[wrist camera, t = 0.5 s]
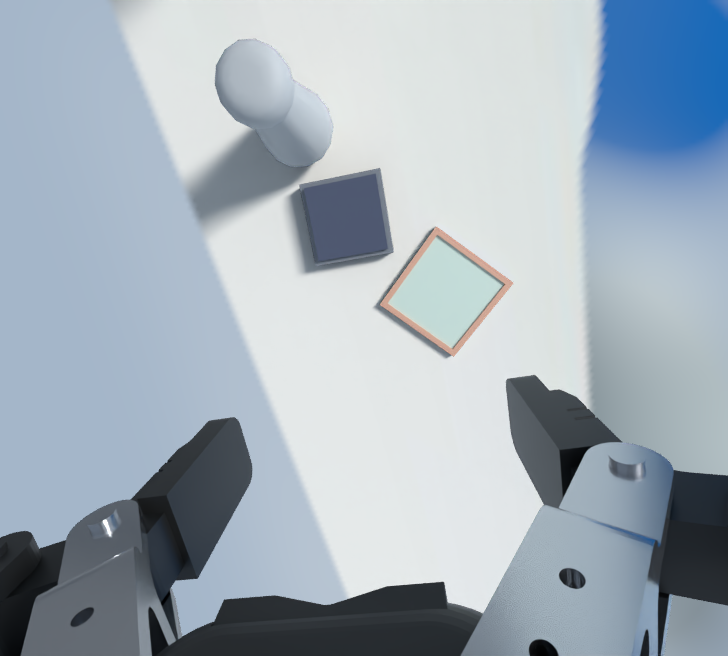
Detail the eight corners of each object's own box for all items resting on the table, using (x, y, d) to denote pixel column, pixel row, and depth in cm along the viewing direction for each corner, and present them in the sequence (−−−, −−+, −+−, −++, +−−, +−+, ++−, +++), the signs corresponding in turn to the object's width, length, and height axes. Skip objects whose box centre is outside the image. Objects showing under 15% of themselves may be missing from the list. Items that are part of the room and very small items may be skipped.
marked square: (379, 303, 36) (379, 304, 36) (435, 226, 34) (436, 226, 34) (452, 355, 37) (453, 356, 37) (512, 282, 35) (513, 282, 34)
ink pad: (302, 186, 34) (298, 184, 33) (380, 170, 34) (379, 167, 32) (318, 265, 36) (315, 266, 34) (393, 251, 35) (393, 252, 34)
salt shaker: (347, 115, 33) (317, 43, 20) (322, 182, 34) (279, 153, 22) (284, 86, 33) (213, -5, 20) (261, 154, 34) (182, 109, 22)
